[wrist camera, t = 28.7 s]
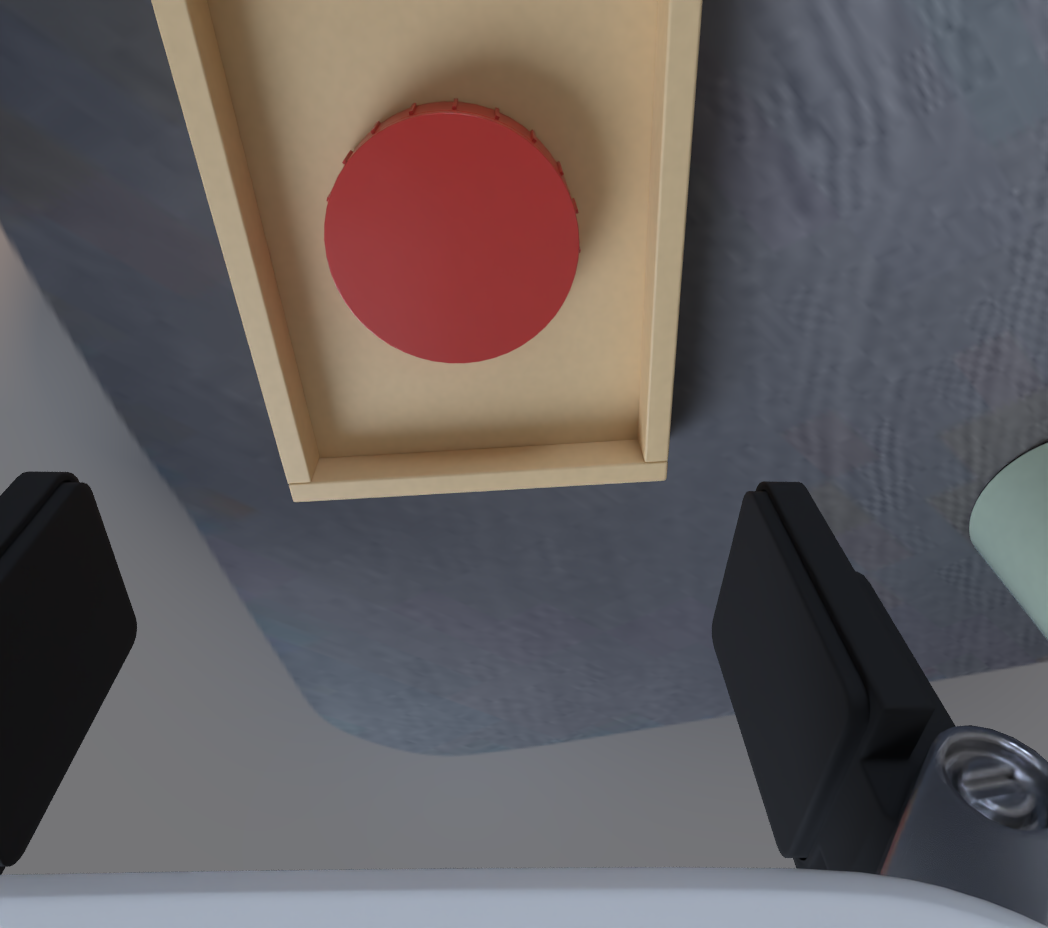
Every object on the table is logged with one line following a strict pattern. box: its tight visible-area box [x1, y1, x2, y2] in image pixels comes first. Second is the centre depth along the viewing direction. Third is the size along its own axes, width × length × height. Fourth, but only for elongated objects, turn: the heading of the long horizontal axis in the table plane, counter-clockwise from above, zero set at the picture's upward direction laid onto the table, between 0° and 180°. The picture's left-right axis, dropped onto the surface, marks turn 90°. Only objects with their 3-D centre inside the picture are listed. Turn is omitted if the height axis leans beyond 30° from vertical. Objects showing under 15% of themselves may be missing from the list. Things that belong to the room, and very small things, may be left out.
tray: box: [151, 0, 703, 502], centre depth 21 cm, size 17×13×2 cm
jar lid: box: [324, 98, 581, 363], centre depth 21 cm, size 7×7×2 cm
